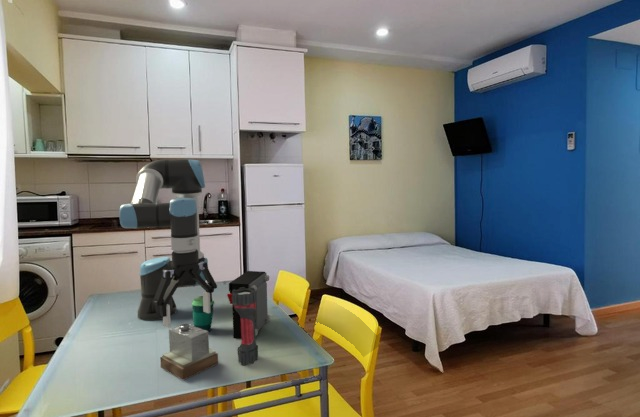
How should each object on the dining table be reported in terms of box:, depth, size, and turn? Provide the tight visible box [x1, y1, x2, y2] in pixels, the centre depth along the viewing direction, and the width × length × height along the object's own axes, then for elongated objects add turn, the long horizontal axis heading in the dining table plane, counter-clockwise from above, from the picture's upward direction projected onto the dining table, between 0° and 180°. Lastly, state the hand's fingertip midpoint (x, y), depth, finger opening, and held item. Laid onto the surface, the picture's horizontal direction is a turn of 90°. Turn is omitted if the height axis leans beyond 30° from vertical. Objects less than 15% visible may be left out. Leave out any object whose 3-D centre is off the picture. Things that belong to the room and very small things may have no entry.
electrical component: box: [226, 270, 271, 340], centre depth 142 cm, size 18×10×20 cm, turn 168°
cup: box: [191, 295, 215, 333], centre depth 143 cm, size 8×8×12 cm
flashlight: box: [231, 287, 259, 366], centre depth 117 cm, size 8×8×23 cm
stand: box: [160, 347, 219, 381], centre depth 116 cm, size 12×12×4 cm
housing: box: [168, 323, 210, 361], centre depth 115 cm, size 6×11×8 cm, turn 55°
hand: (187, 319), depth 115 cm, fingers open, 13 cm apart
